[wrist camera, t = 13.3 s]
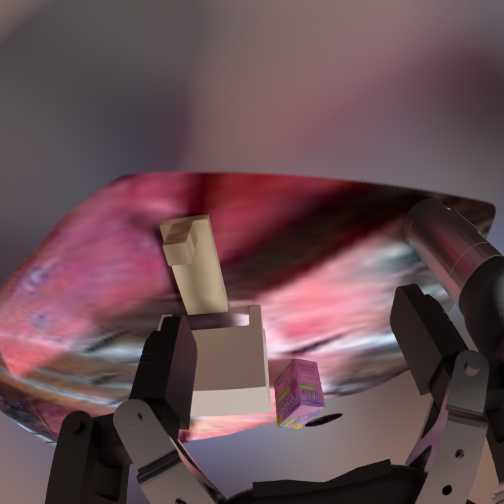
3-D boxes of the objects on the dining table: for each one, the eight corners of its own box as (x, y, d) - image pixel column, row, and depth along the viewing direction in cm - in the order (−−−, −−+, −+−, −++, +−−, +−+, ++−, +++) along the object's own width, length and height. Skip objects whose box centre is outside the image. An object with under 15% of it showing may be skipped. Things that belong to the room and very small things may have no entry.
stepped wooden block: (208, 212, 41) (201, 240, 34) (228, 303, 50) (226, 338, 43) (162, 219, 42) (147, 247, 35) (189, 307, 50) (183, 340, 44)
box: (294, 357, 58) (301, 405, 48) (317, 362, 59) (326, 408, 49) (272, 383, 63) (276, 427, 53) (294, 386, 64) (300, 429, 54)
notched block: (260, 305, 50) (265, 386, 36) (265, 335, 54) (271, 412, 40) (157, 315, 51) (136, 390, 37) (171, 343, 55) (156, 415, 41)
